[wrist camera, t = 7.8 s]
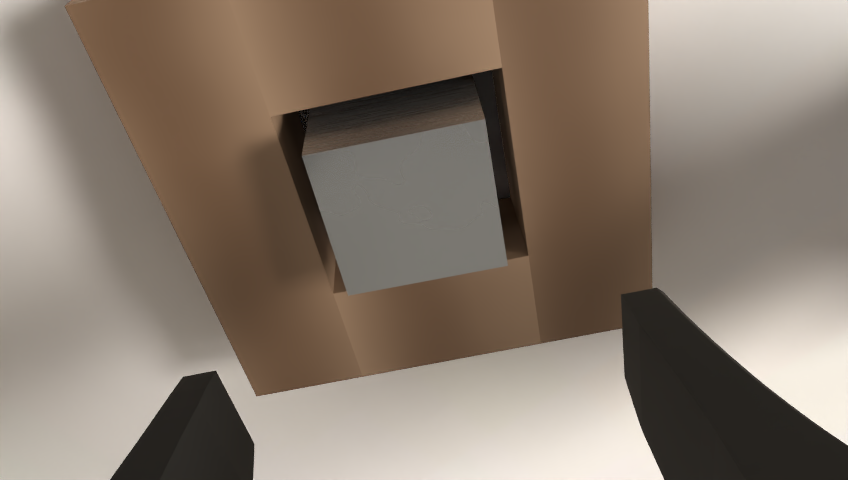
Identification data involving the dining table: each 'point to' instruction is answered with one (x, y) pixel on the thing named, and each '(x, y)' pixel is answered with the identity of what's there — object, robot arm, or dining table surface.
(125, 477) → the robot arm
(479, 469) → the dining table surface
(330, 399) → the dining table surface
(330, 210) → the peg
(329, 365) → the holder
